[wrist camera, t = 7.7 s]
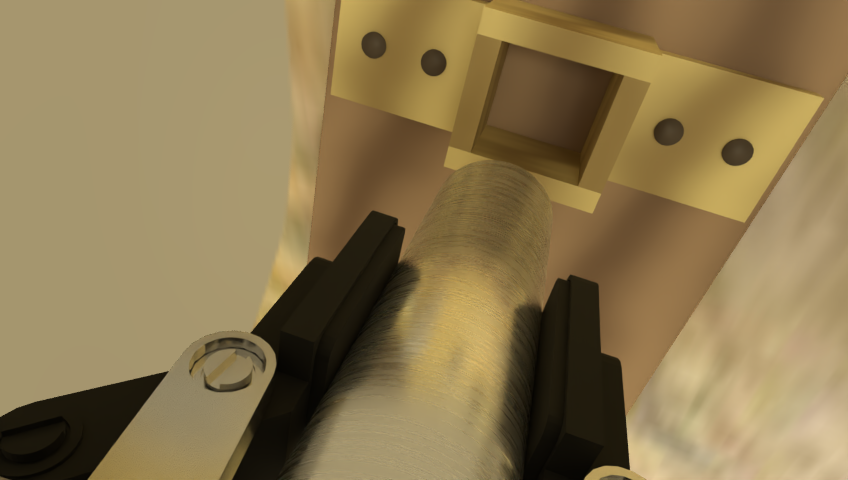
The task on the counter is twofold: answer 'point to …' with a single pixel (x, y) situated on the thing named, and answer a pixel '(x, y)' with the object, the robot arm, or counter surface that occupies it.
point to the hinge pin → (444, 345)
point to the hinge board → (582, 131)
